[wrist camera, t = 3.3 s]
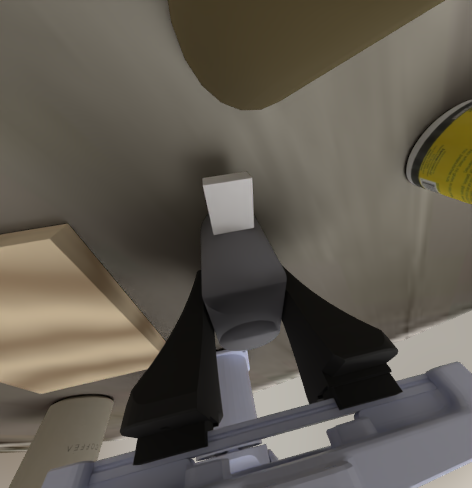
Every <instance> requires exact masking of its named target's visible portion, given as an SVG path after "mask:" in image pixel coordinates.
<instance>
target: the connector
mask: <svg viewBox="0 0 472 488" xmlns="http://www.w3.org/2000/svg"><path fill="white" fill-rule="evenodd" d="M202 179H203V188H204V193H205V198H206V202H207V207H208V211H209V214H208V215H207V216H206V218H205V219H204V221H203V223H202V226H201V274H202V298H203V301H204V303H205V306H206V309H207V311H208V314H209V317H210V319H211V322H212V325H213V327H214V330H215V333H216V335H217V338H218V341H219V343H220V345H221V347H223V348H224V349H227V350H231V351H245V350H251V349H255V348H258V347H260V346H263V345H265V344H267V343H269V342H271V341H272V340H273V339H274V338H276V337H277V335H278V334H279V332H280V325H281V318H282V311H283V303H284V296H285V289H286V282H287V277H286V273H285V271H284V269H283V267H282V265H281V263H280V262H279V260H278V258H277V256H276V254H275V252H274V251H273V249H272V247H271V245H270V243H269V241H268V240H267V238H266V236H265V234H264V232H263V230H262V229H261V227H260V225H259V223H258V221H257V219H256V218H255V216H254V211H253V184H252V177H251V176H250V175H249V173H248V172H247V171H245V172H239V173H232V174H226V175H219V176H213V177H206V178H202Z"/></svg>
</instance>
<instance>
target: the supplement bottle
mask: <svg viewBox="0 0 472 488" xmlns="http://www.w3.org/2000/svg"><path fill="white" fill-rule="evenodd" d="M406 174H407V178H408V180H409V181H410V182H411V183H412V184H414V185H416V186H419V187H422V188H424V189H428V190H431V191H433V192H436V193H439V194H442V195H445V196H448V197H451V198H454V199H457V200H460V201H463V202H466V203H469V204H472V99H471V100H468V101H466V102H463V103H461V104H459V105H457V106H455V107H454V108H452V109H450V110H449V111H447V112H446V113H445V114H443V115H442V116H441V117H439V118H438V119H437V120H436V121H435V122H433V123H432V124H431V125H430V126H429V127H428V129H427V130H426V131H425V132H424V133H423V134H422V136H421V137H420V138H419V140H418V141H417V143H416V144H415V146H414V148H413V150H412V152H411V154H410V156H409V159H408V162H407V168H406Z"/></svg>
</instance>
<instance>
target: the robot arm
mask: <svg viewBox="0 0 472 488" xmlns="http://www.w3.org/2000/svg"><path fill="white" fill-rule="evenodd" d="M282 267H283V266H282ZM283 269H284V271H285V273H286V277H287V282H286V289H285V296H284V303H283V311H282V318H281V319H282V322H283V324H284V327H285V330H286V333H287V335H288V338H289V341H290V344H291V347H292V350H293V353H294V356H295V360H296V363H297V366H298V369H299V372H300V376H301V379H302V382H303V386H304V389H305V393H306V396H307V399H308V402H309V405H305V406H301V407H297V408H294V409H290V410H286V411H283V412H279V413H275V414H271V415H267V416H264V417H260V418H257V415H256V410H255V404H254V399H253V394H252V389H251V384H250V378H249V373H248V371H249V370H250V366H249V359H248V352H247V350H245V351H231V350H227V349H226V350H222V351H218V352H216V347H215V333H214V327H213V325H212V322H211V319H210V317H209V314H208V311H207V309H206V306H205V303H204V301H203V298H202V274H201V270H199V271H198V272H197V274H196V278H195V282H194V285H193V288H192V290H191V293H190V296H189V298H188V301H187V303H186V305H185V308H184V310H183V312H182V314H181V316H180V318H179V320H178V322H177V324H176V326H175V328H174V329H173V331H172V333H171V334H170V336H169V338H168V340H167V341H166V343H165V344H164V346H163V347H162V349H161V350H160V352H159V353H158V355H157V356H156V358H155V359H154V361H153V362H152V364H151V365H150V366H149V368H148V369H147V371H146V372H145V373H144V375H143V376H142V377H141V378H140V380H139V381H138V382H137V384H136V385H135V386H134V388H133V389H132V391H131V394H130V397H129V399H128V402H127V405H126V409H125V413H124V417H123V421H122V425H121V429H120V433H121V435H122V436H126V437H133V438H138V440H137V445H136V450H135V451H132V452H129V453H125V454H121V455H118V456H114V457H110V458H106V459H102V460H99V461H95V462H94V461H81V462H77V463H73V464H69V465H65V466H61V467H58V468H54V469H51V470H50V471H49V472H48V473H47V475H46V477H45V480H44V482H43V484H42V487H41V488H418V487H420V486H422V485H424V484H426V483H428V482H431V481H433V480H435V479H437V478H439V477H441V476H443V475H445V474H447V473H449V472H452V471H454V470H456V469H458V468H460V467H462V466H464V465H466V464H468V463H470V462H472V373H471V372H469V371H468V370H467V369H466V368H465V367H464V366H463V365H462V364H461V363H460V362H454V363H450V364H447V365H442V366H439V367H436V368H433V369H431V370H429V371H427V372H426V373H425V374H421V375H417V376H414V377H410V378H406V379H402V380H399V381H395V380H394V378H393V377H392V376H391V374H390V372H391V369H390V367H389V366H388V365H387V362H388V361H389V360H391V359H392V358H393V357H394V356H395V355H397V353H398V349H397V348H396V347H395V346H394V345H393V343H392V342H391V341H390V340H389V338H388V337H387V336H386V335H385V334H384V333H383V332H382V331H381V330H379V329H377V328H375V327H373V326H371V325H369V324H367V323H365V322H363V321H360V320H358V319H356V318H355V317H353V316H351V315H349V314H347V313H345V312H344V311H342V310H340V309H339V308H337V307H335V306H334V305H332V304H330V303H329V302H327V301H326V300H324V299H322V298H321V297H320V296H318V295H317V294H315V293H314V292H312V291H311V290H310V289H309V288H307V287H306V286H305V285H303V284H302V283H301V282H300V281H299V280H297V279H296V278H295V277H294V276H293V275H292V274H291V273H290V272H288V271H287V270H286V269H285V268H284V267H283ZM354 413H355V415H354V420H353V421H350V422H347V423H343V424H340V425H337V426H336V427H334V428H331V429H328V430H327V435H328V438H329V440H330V443H331V446H328V447H324V448H321V449H317V450H313V451H310V452H306V453H303V454H299V455H296V456H292V457H288V458H285V459H281V460H278V458H277V457H276V456H275V455H274V453H273V452H272V451H271V450H270V449H268V450H267V446H266V444H264V445H260V446H256V445H259V444H261V443H262V441H261V439H263V438H267V437H271V436H275V435H278V434H282V433H285V432H289V431H293V430H296V429H300V428H303V427H307V426H311V425H314V424H318V423H322V422H325V421H328V420H332V419H336V418H339V417H343V416H347V415H350V414H354ZM253 446H256V447H253ZM250 447H251V448H250ZM195 457H196V461H200V460H204V461H201V462H197V463H195V462H194V460H193V459H191V458H195ZM210 458H211V459H210ZM205 459H208V460H205Z"/></svg>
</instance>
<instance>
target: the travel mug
mask: <svg viewBox="0 0 472 488" xmlns="http://www.w3.org/2000/svg"><path fill="white" fill-rule="evenodd" d="M113 404H114V402H113V401H112V400H111V399H110V398H108V397H105V396H99V395H86V396H76V397H71V398H67V399H63V400H61V401H59V402H57V403H55V404H53V405H51V406H50V407H49V409H48V411H47V413H46V415H45V417H44V419H43V421H42V423H41V425H40V427H39V429H38V431H37V433H36V435H35V437H34V439H33V441H32V443H31V445H30V447H29V449H28V451H27V453H26V455H25V457H24V459H23V461H22V462H21V465H20V467H19V469H18V470H17V472H16V474H15V476H14V479H13V480H12V482H11V484H10V486H9V488H41V487H42V484H43V482H44V480H45V477H46V475H47V473H48V472H49V471H50V470H51V469H54V468H58V467H61V466H65V465H69V464H73V463H77V462H81V461H94V462H95V461H97V458H98V455H99V452H100V448H101V445H102V442H103V438H104V435H105V431H106V428H107V424H108V421H109V418H110V414H111V411H112V407H113Z"/></svg>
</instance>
